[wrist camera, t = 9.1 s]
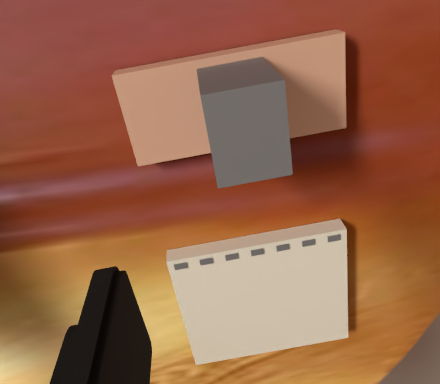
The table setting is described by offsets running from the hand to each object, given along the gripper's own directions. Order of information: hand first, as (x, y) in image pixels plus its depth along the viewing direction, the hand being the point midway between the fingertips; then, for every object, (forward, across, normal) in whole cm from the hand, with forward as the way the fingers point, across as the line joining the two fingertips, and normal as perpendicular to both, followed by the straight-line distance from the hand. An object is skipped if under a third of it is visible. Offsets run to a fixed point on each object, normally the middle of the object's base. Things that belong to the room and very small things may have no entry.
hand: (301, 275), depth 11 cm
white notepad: (+18, 0, +17) cm, 25 cm away
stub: (+18, 0, 0) cm, 18 cm away
